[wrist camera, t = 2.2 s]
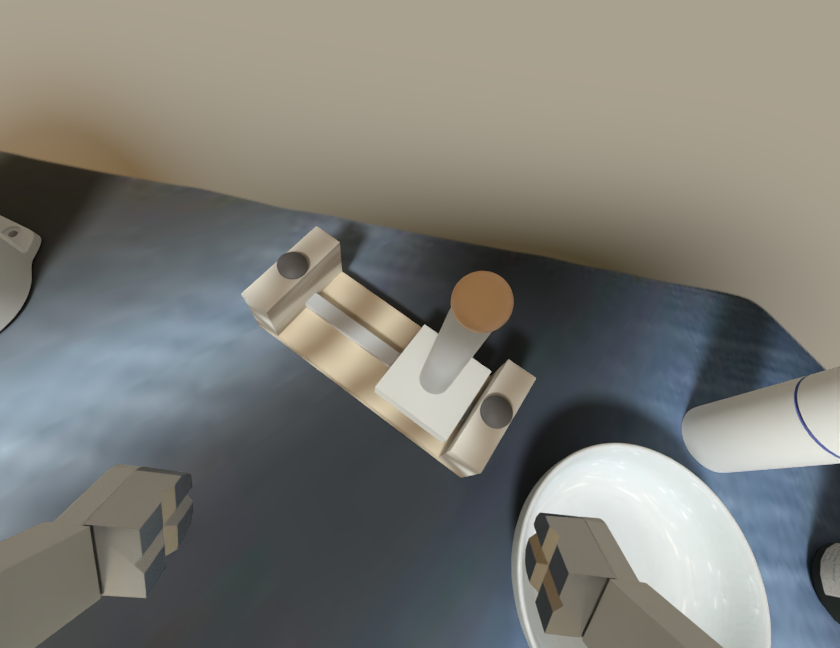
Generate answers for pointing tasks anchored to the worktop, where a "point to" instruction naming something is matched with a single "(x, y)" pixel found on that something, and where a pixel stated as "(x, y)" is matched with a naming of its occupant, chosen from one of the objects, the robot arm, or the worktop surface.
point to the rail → (371, 347)
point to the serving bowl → (652, 541)
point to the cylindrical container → (769, 426)
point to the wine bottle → (828, 578)
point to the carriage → (448, 357)
